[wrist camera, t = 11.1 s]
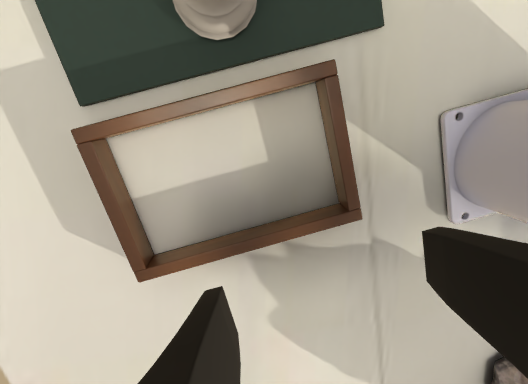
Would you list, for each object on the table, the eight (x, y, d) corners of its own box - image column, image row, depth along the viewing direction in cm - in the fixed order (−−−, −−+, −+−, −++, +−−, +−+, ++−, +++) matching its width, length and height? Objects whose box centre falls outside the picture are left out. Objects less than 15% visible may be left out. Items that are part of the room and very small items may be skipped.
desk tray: (325, 64, 17) (335, 58, 15) (351, 210, 19) (363, 219, 18) (87, 128, 16) (69, 129, 15) (147, 268, 19) (138, 283, 17)
